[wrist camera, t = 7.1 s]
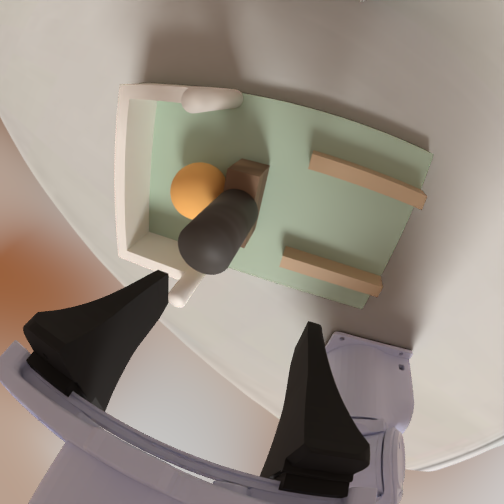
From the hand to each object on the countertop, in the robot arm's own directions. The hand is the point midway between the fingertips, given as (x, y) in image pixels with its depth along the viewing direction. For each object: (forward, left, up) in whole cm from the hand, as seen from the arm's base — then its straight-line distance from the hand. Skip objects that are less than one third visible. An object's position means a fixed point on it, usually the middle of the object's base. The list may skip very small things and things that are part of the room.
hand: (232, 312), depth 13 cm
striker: (+2, -2, -9) cm, 9 cm away
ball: (+5, -2, -7) cm, 9 cm away
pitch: (+1, -2, -10) cm, 11 cm away
